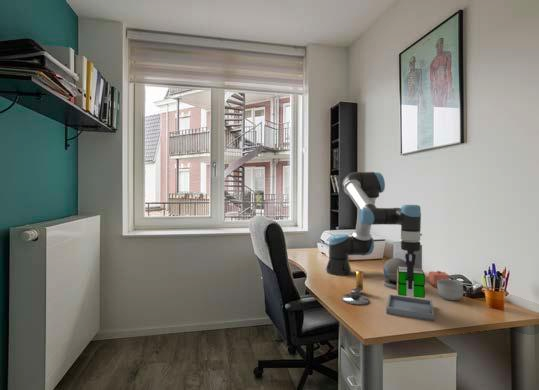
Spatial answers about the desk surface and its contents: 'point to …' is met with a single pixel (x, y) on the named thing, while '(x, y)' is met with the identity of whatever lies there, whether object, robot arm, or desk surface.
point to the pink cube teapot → (437, 277)
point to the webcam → (392, 271)
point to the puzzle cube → (418, 282)
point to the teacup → (450, 289)
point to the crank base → (355, 300)
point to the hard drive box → (401, 253)
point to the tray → (410, 307)
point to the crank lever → (358, 285)
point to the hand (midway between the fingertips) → (410, 292)
